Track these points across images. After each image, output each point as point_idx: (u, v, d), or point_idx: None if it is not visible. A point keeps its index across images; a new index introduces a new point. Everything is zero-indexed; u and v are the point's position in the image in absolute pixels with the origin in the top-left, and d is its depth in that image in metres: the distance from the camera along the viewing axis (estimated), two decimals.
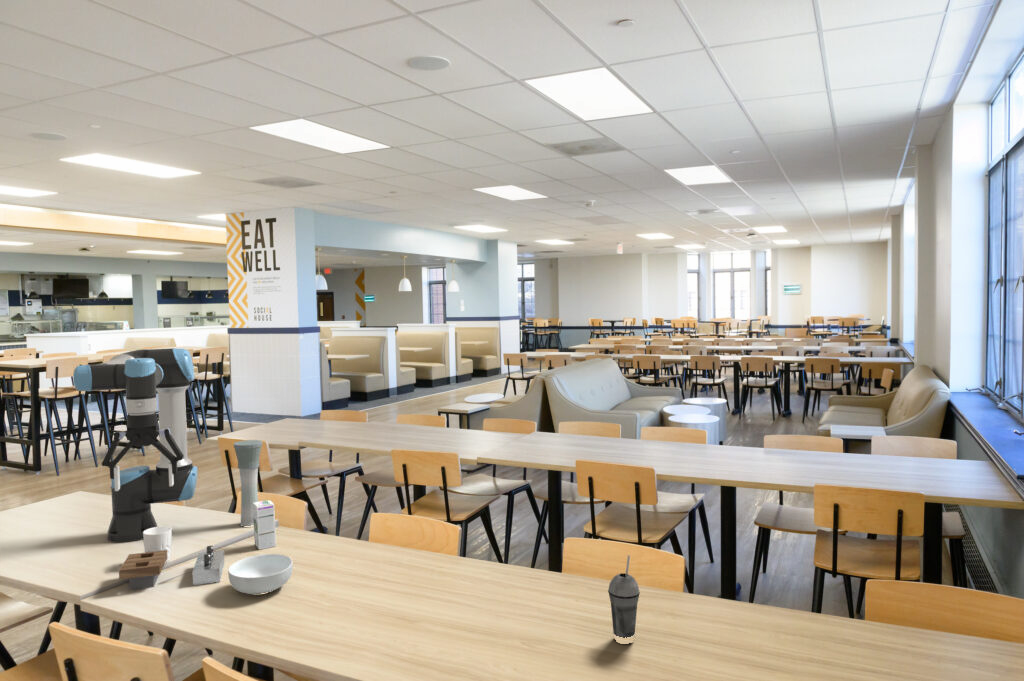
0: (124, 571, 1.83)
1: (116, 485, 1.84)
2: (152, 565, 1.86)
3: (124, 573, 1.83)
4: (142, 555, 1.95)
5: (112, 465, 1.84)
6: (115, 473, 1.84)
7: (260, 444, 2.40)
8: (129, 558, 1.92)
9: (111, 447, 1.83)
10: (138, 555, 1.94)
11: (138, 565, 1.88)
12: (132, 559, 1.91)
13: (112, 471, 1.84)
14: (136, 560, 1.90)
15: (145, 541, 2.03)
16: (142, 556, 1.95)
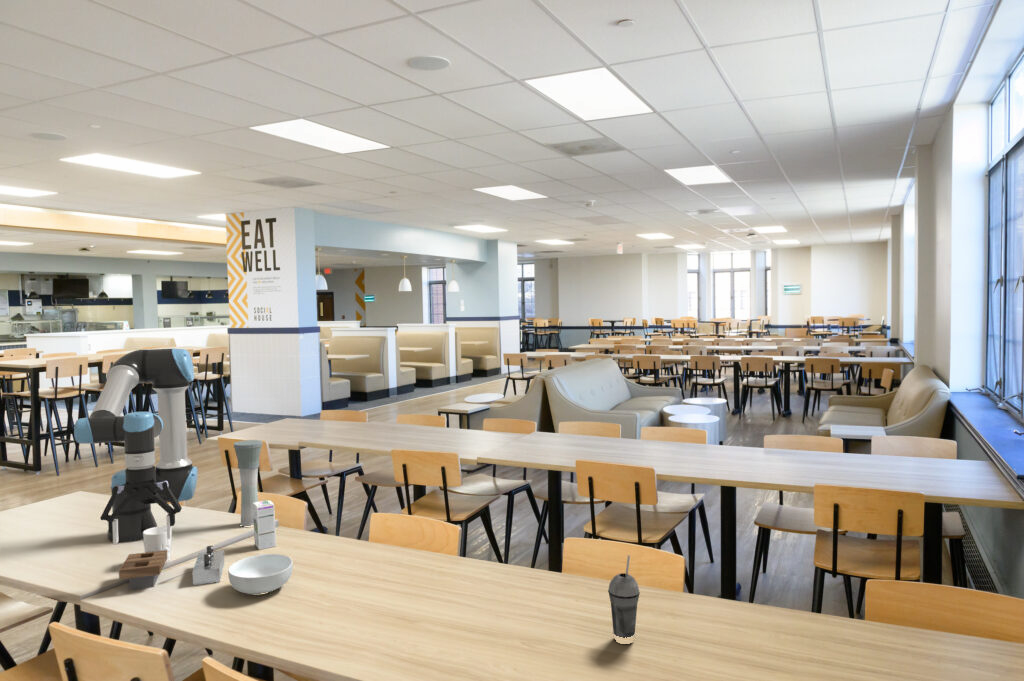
0: (124, 571, 1.83)
1: (114, 539, 1.86)
2: (152, 565, 1.86)
3: (124, 573, 1.83)
4: (142, 555, 1.95)
5: (111, 519, 1.86)
6: (113, 527, 1.86)
7: (260, 444, 2.40)
8: (129, 558, 1.92)
9: (110, 501, 1.86)
10: (138, 555, 1.94)
11: (138, 565, 1.88)
12: (132, 559, 1.91)
13: (111, 524, 1.86)
14: (136, 560, 1.90)
15: (145, 541, 2.03)
16: (142, 556, 1.95)
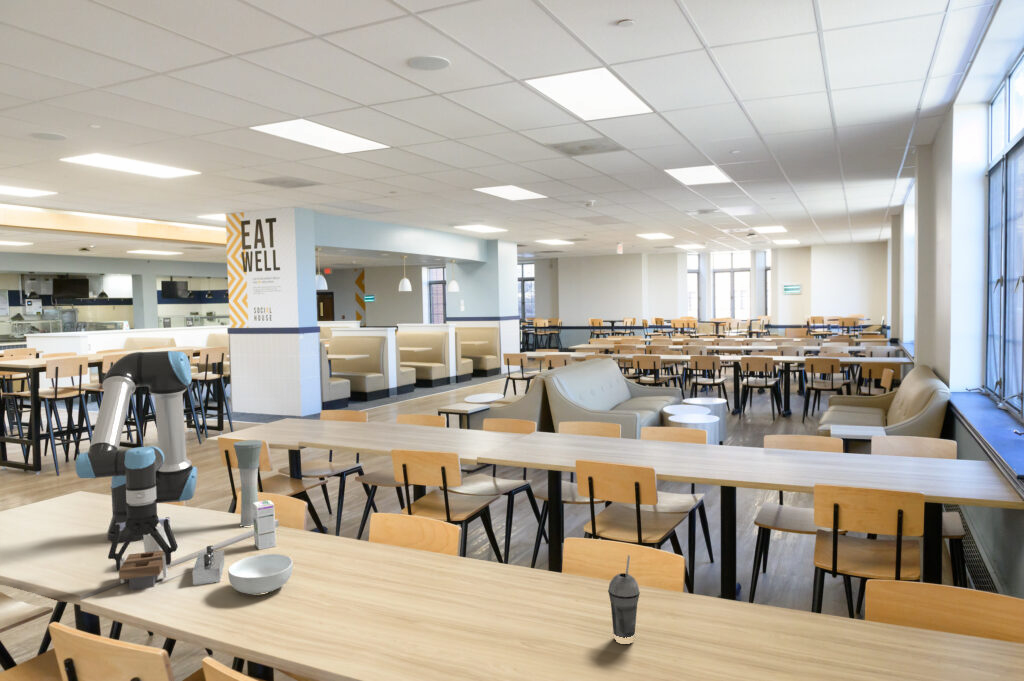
0: (124, 571, 1.83)
1: None
2: (152, 565, 1.86)
3: (124, 573, 1.83)
4: (142, 555, 1.95)
5: (119, 558, 1.87)
6: (121, 565, 1.87)
7: (260, 444, 2.40)
8: (129, 558, 1.92)
9: (114, 539, 1.87)
10: (138, 555, 1.94)
11: (138, 565, 1.88)
12: (132, 559, 1.91)
13: (118, 563, 1.88)
14: (136, 560, 1.90)
15: (145, 541, 2.03)
16: (142, 556, 1.95)
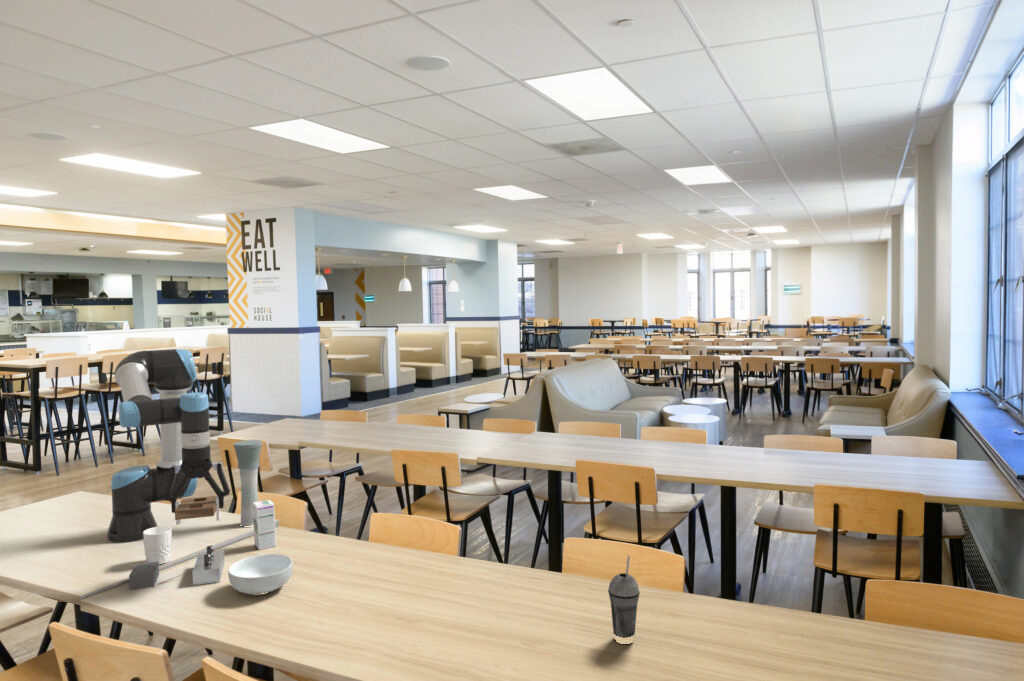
0: (180, 512, 1.87)
1: None
2: (206, 507, 1.90)
3: (180, 514, 1.87)
4: (195, 500, 1.99)
5: (174, 500, 1.91)
6: (176, 507, 1.91)
7: (260, 444, 2.40)
8: (183, 501, 1.96)
9: (169, 482, 1.90)
10: (191, 499, 1.98)
11: (192, 507, 1.92)
12: (186, 502, 1.95)
13: (174, 505, 1.91)
14: (190, 503, 1.94)
15: (145, 541, 2.03)
16: (195, 501, 1.99)
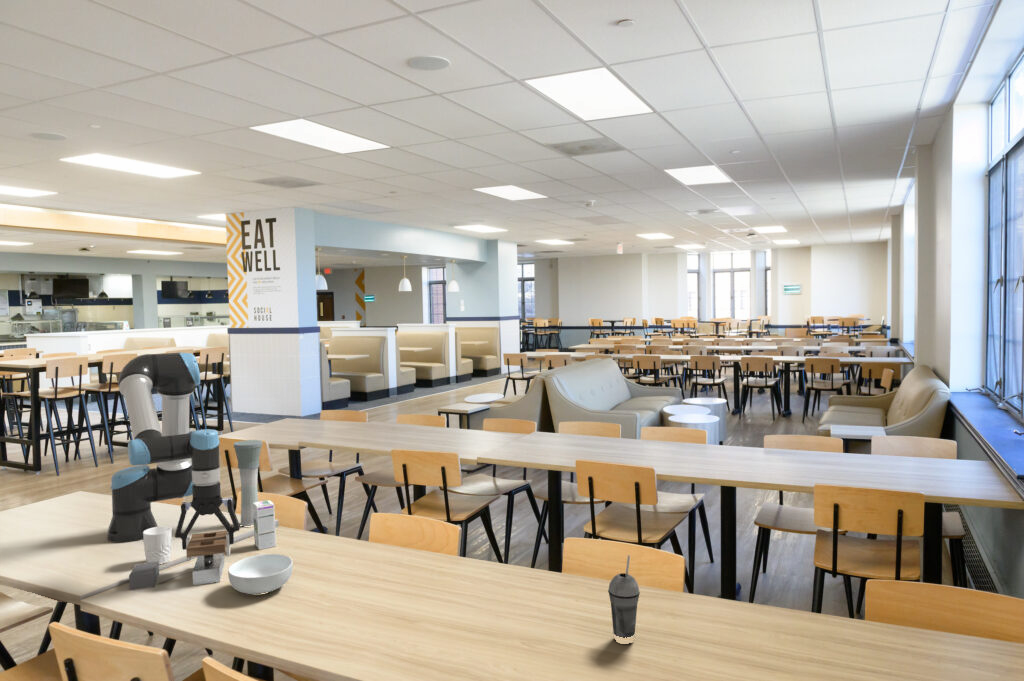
0: (191, 549, 1.88)
1: None
2: (217, 544, 1.91)
3: (192, 551, 1.88)
4: (205, 535, 2.00)
5: (185, 537, 1.92)
6: (187, 544, 1.93)
7: (260, 444, 2.40)
8: (193, 537, 1.97)
9: (180, 519, 1.92)
10: (201, 535, 1.99)
11: (203, 544, 1.94)
12: (196, 538, 1.96)
13: (184, 542, 1.93)
14: (201, 539, 1.95)
15: (145, 541, 2.03)
16: (205, 536, 2.00)
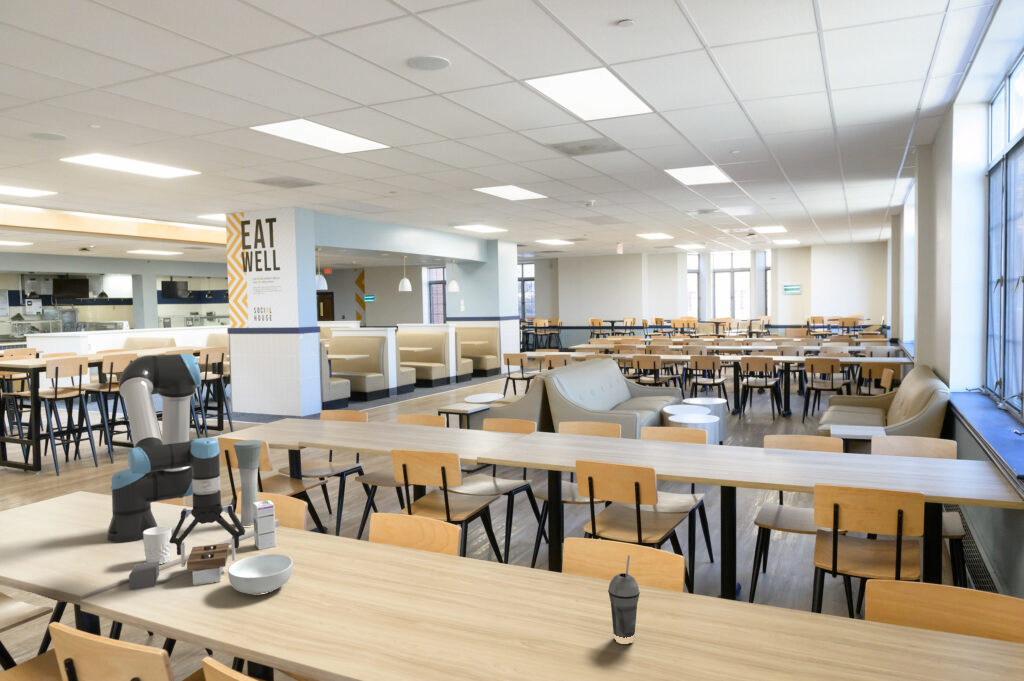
0: (192, 563, 1.89)
1: (183, 561, 1.92)
2: (218, 557, 1.92)
3: (192, 565, 1.89)
4: (205, 548, 2.00)
5: (179, 542, 1.92)
6: (182, 550, 1.92)
7: (260, 444, 2.40)
8: (194, 550, 1.97)
9: (178, 525, 1.92)
10: (202, 548, 1.99)
11: (203, 557, 1.94)
12: (197, 551, 1.96)
13: (179, 547, 1.93)
14: (201, 552, 1.96)
15: (145, 541, 2.03)
16: (205, 549, 2.00)
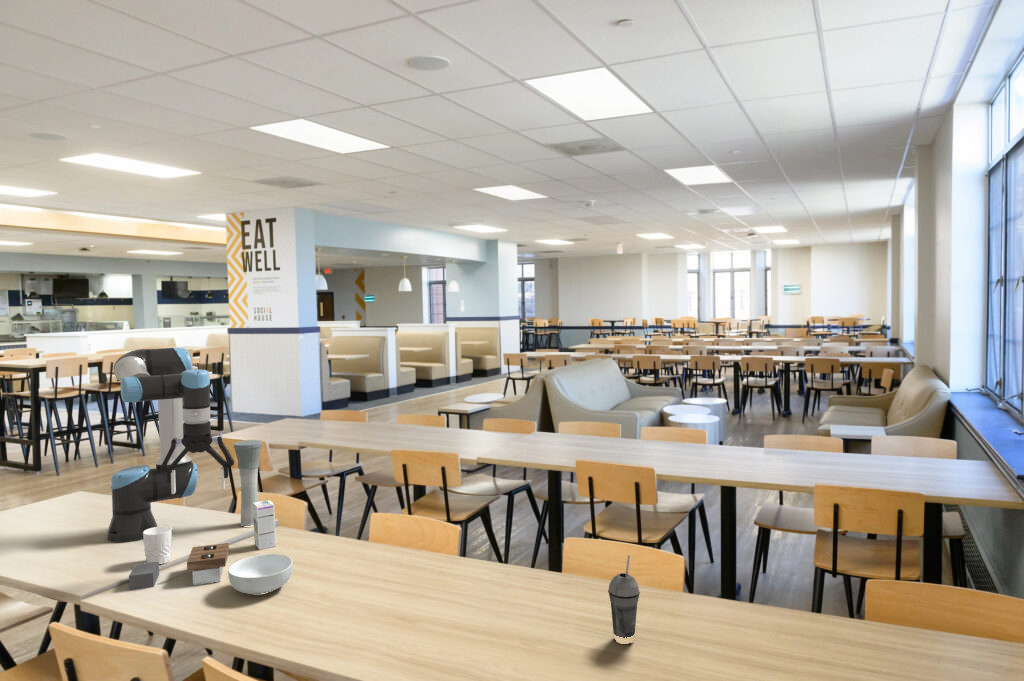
0: (192, 563, 1.89)
1: (173, 488, 1.97)
2: (218, 557, 1.92)
3: (192, 565, 1.89)
4: (205, 548, 2.00)
5: (170, 470, 1.96)
6: (172, 477, 1.97)
7: (260, 444, 2.40)
8: (194, 550, 1.97)
9: (168, 453, 1.96)
10: (202, 548, 1.99)
11: (203, 557, 1.94)
12: (197, 551, 1.96)
13: (169, 475, 1.97)
14: (201, 552, 1.96)
15: (145, 541, 2.03)
16: (205, 549, 2.00)
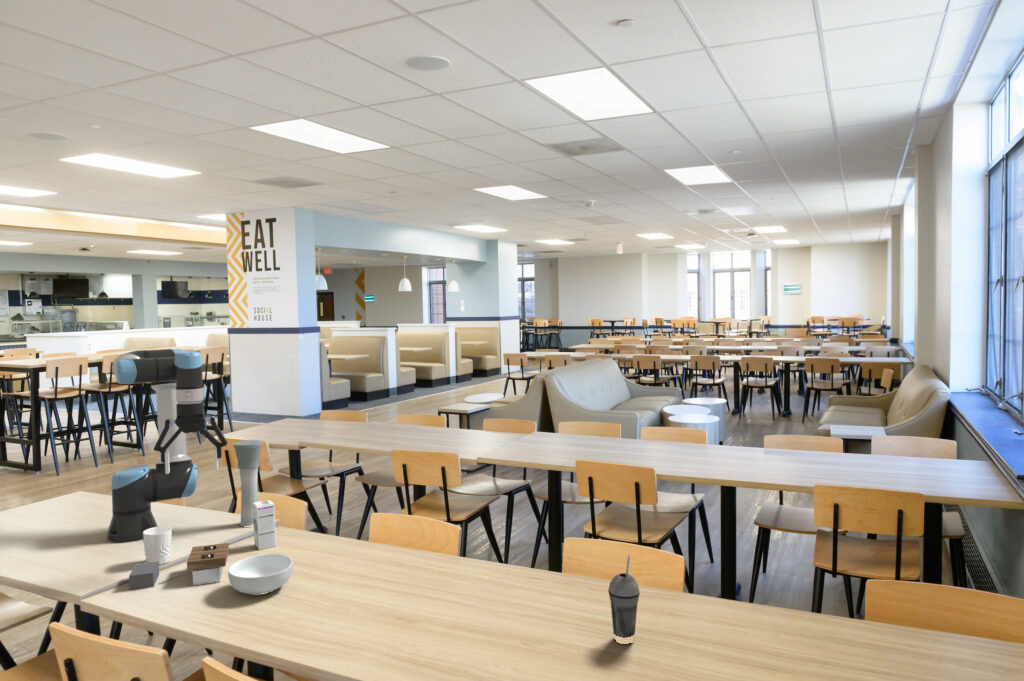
0: (192, 563, 1.89)
1: (167, 468, 2.00)
2: (218, 557, 1.92)
3: (192, 565, 1.89)
4: (205, 548, 2.00)
5: (163, 450, 2.00)
6: (166, 457, 2.00)
7: (260, 444, 2.40)
8: (194, 550, 1.97)
9: (162, 433, 1.99)
10: (202, 548, 1.99)
11: (203, 557, 1.94)
12: (197, 551, 1.96)
13: (163, 455, 2.00)
14: (201, 552, 1.96)
15: (145, 541, 2.03)
16: (205, 549, 2.00)
